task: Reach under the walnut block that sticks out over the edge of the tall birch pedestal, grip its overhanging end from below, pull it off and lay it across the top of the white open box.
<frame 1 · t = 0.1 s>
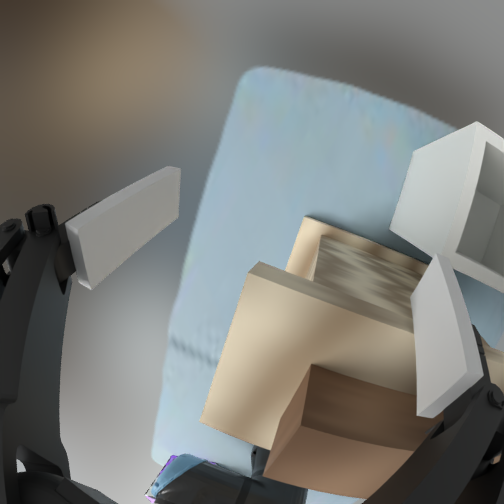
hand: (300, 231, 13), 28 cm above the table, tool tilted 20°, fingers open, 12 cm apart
white open box: (452, 213, 34), on the table
birch pedestal: (363, 274, 40), on the table
walnut block: (488, 436, 10), point 30 cm above the table, touching birch pedestal
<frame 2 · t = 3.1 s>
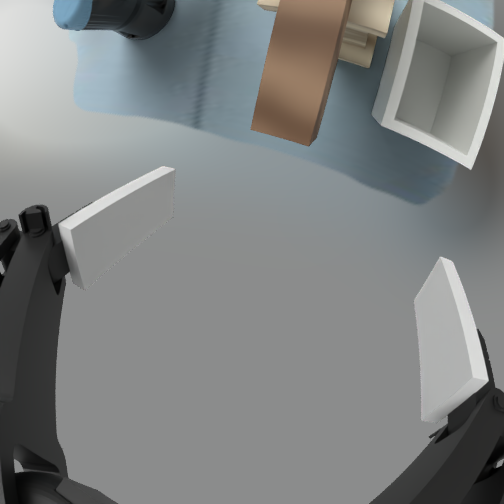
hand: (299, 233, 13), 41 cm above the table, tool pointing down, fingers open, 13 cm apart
white open box: (416, 82, 36), on the table
birch pedestal: (353, 7, 32), on the table
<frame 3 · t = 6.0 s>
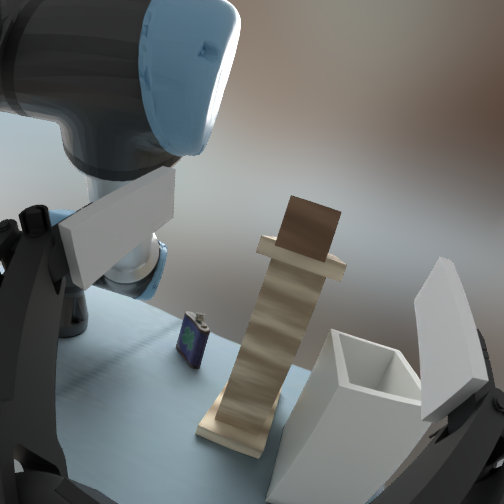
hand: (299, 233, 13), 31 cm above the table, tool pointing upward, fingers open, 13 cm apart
flask: (187, 357, 58), on the table
white open box: (312, 470, 33), on the table
birch pedestal: (244, 410, 45), on the table
walnut block: (305, 249, 35), point 30 cm above the table, touching birch pedestal
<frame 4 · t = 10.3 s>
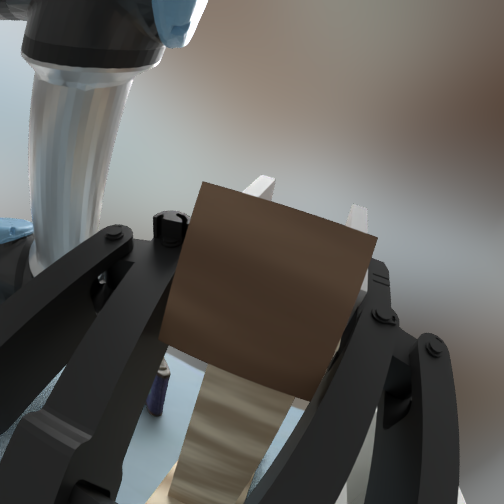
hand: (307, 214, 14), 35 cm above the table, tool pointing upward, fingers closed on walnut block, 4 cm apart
flask: (148, 399, 42), on the table
birch pedestal: (212, 476, 30), on the table
walnut block: (287, 286, 20), point 30 cm above the table, touching birch pedestal, gripper
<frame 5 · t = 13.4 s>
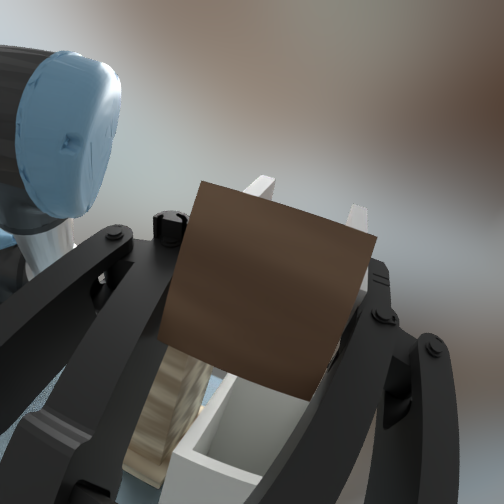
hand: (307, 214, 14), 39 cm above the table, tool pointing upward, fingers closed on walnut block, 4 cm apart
birch pedestal: (160, 435, 39), on the table
walnut block: (287, 286, 20), point 35 cm above the table, touching gripper
when the fingers open (26 cm above the table, at t = 17.0 s): walnut block drops 1 cm, resting on white open box.
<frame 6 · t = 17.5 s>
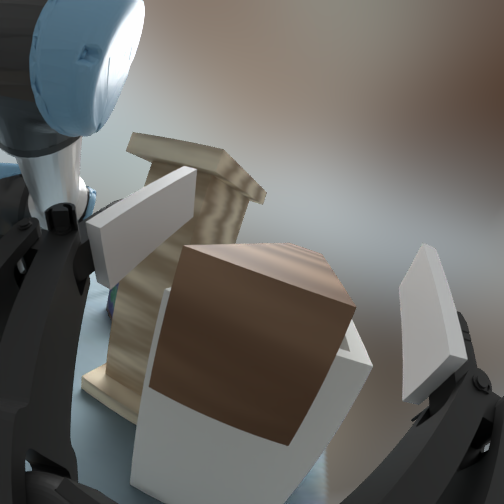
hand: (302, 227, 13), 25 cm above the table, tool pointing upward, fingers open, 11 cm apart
flask: (115, 318, 50), on the table
white open box: (219, 459, 25), on the table
birch pedestal: (155, 375, 37), on the table
walnut block: (281, 306, 20), point 20 cm above the table, touching white open box
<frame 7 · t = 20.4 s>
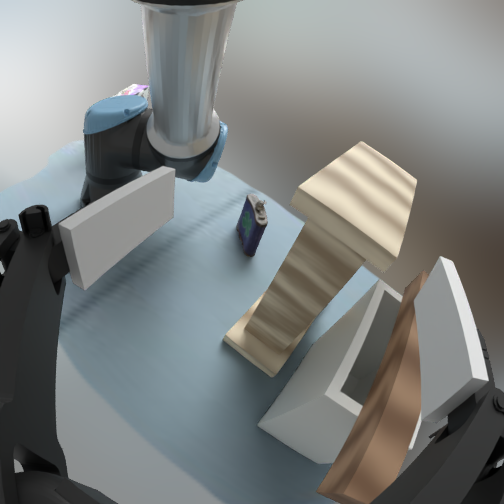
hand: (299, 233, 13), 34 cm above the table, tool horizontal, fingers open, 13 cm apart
candy box: (126, 142, 74), on the table
flask: (245, 240, 61), on the table
white open box: (316, 402, 41), on the table
birch pedestal: (282, 316, 51), on the table
walnut block: (391, 378, 25), point 20 cm above the table, touching white open box
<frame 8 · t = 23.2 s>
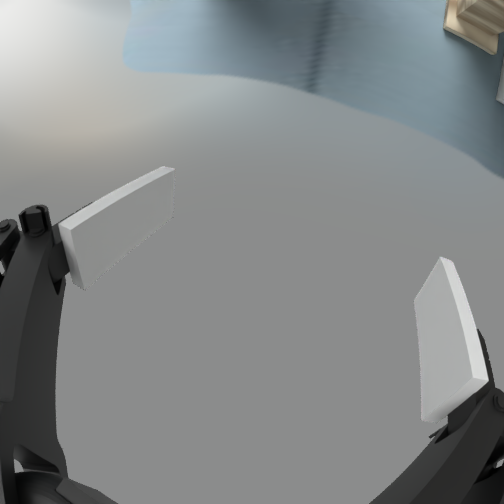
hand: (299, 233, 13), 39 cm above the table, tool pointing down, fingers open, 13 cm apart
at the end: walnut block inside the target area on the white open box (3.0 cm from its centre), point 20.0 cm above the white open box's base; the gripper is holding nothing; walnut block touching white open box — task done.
